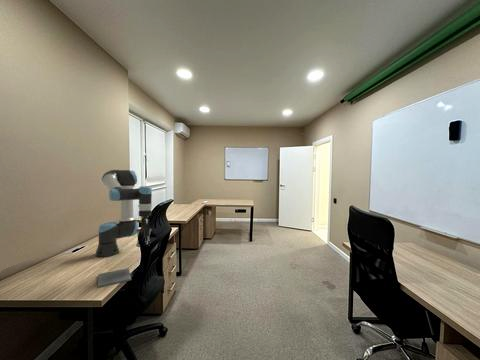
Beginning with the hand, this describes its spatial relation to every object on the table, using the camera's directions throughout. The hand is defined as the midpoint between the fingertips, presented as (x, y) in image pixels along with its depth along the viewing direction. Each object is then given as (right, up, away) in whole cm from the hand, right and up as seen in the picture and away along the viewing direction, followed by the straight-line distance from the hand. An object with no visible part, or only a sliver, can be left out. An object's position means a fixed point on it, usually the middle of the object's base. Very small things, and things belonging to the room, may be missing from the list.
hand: (144, 244), depth 138 cm
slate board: (-11, -15, -15) cm, 24 cm away
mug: (0, -1, +1) cm, 1 cm away
